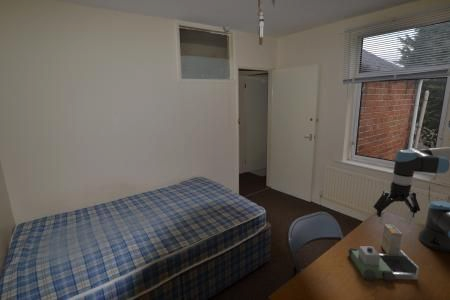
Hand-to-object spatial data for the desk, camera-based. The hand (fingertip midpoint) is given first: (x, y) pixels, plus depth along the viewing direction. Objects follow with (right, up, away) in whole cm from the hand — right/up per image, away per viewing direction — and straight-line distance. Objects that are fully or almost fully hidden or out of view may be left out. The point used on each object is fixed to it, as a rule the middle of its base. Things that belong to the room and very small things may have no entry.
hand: (393, 222), depth 114 cm
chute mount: (-6, -19, -7) cm, 21 cm away
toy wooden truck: (-16, -19, -7) cm, 26 cm away
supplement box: (0, -16, +4) cm, 17 cm away
